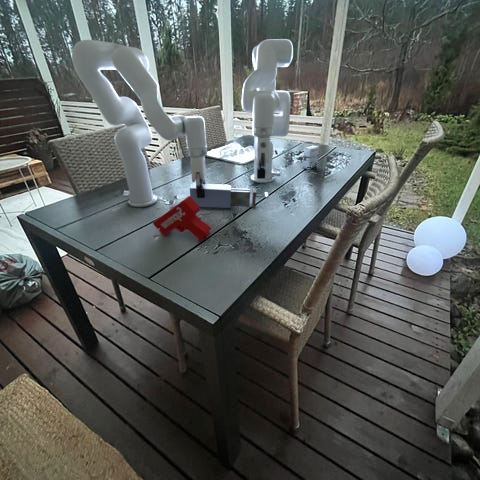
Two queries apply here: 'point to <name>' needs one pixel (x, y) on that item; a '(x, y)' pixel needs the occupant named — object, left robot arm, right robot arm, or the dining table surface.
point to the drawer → (244, 197)
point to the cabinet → (213, 196)
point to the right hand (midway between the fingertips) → (260, 177)
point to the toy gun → (183, 220)
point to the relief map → (233, 153)
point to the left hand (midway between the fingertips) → (201, 194)
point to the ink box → (310, 156)
